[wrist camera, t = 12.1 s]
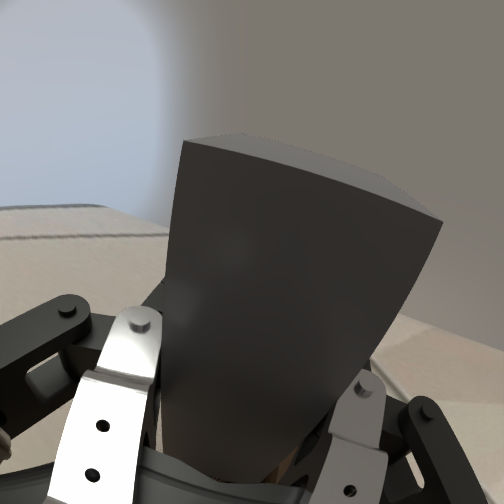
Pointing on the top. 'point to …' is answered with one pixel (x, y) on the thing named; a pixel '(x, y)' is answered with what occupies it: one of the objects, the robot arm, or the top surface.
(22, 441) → the top surface
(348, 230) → the grey tall rectangular block
